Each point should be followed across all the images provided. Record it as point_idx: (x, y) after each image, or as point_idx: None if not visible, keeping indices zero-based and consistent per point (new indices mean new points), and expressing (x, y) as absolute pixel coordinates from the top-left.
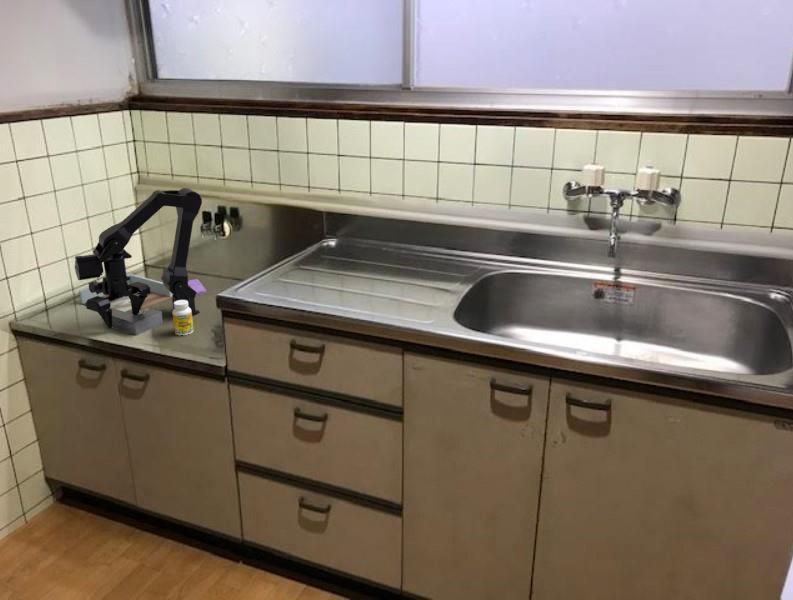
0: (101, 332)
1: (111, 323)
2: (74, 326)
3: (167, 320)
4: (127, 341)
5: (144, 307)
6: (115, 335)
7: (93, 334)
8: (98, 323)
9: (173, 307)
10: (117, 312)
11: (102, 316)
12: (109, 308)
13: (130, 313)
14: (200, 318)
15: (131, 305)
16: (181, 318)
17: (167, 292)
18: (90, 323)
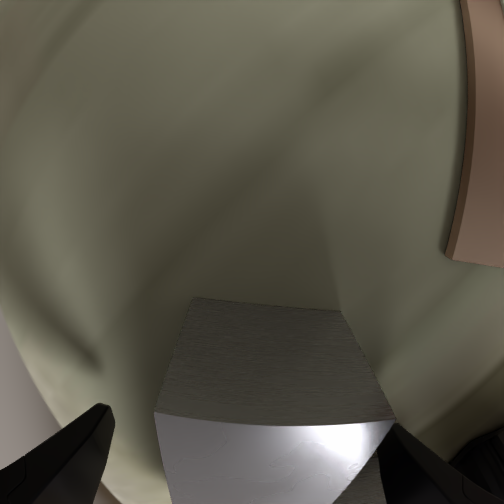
0: (74, 329)
1: (96, 473)
2: (57, 7)
3: None
4: (124, 484)
5: None
6: (117, 430)
7: (23, 296)
8: (200, 123)
9: (499, 450)
10: (294, 472)
11: (13, 483)
12: (502, 27)
13: (500, 266)
14: None
15: (443, 500)
16: None
17: None
18: (161, 47)
